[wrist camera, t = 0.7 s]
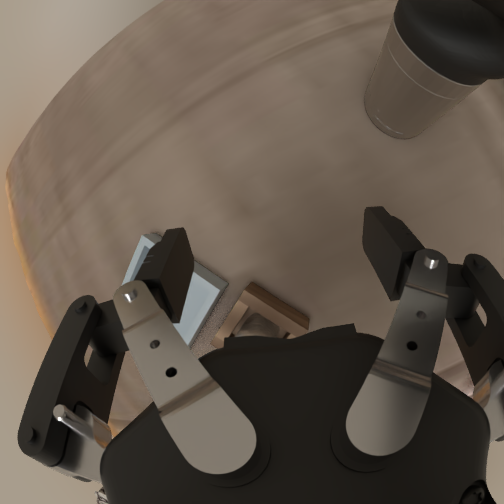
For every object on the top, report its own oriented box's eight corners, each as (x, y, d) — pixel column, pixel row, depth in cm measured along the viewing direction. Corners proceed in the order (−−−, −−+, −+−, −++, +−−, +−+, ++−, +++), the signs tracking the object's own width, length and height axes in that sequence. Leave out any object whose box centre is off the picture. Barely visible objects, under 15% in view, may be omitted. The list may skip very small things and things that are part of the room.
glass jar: (255, 303, 35) (219, 353, 21) (288, 324, 34) (271, 386, 21) (235, 332, 36) (194, 389, 22) (267, 352, 35) (241, 418, 22)
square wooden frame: (251, 281, 36) (244, 289, 32) (309, 318, 35) (308, 330, 31) (220, 331, 38) (210, 343, 34) (272, 365, 37) (267, 380, 33)
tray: (155, 233, 38) (142, 234, 35) (228, 283, 36) (220, 290, 33) (123, 310, 41) (110, 316, 38) (184, 358, 40) (174, 368, 36)
